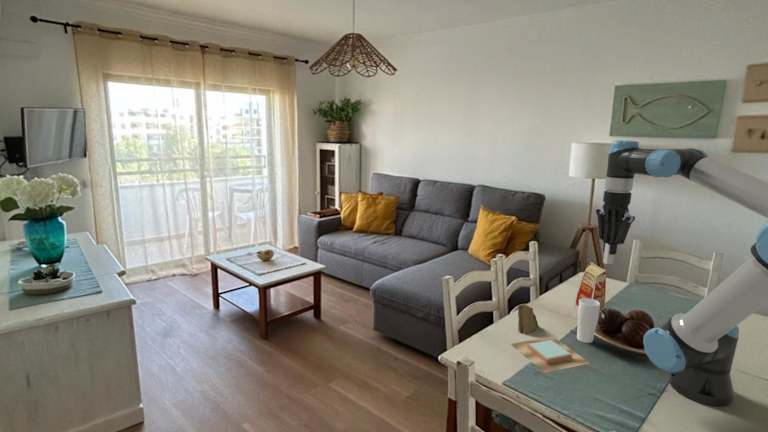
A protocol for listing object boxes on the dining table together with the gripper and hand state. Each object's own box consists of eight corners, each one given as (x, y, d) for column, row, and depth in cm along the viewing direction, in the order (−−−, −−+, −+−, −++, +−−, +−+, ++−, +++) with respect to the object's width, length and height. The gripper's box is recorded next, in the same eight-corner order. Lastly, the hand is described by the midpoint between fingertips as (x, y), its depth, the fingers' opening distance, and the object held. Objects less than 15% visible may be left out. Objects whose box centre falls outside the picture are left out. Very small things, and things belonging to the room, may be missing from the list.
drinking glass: (573, 342, 148) (578, 303, 145) (575, 334, 154) (579, 296, 151) (594, 347, 145) (600, 307, 142) (595, 338, 151) (600, 300, 148)
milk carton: (573, 305, 178) (578, 261, 174) (588, 302, 182) (594, 259, 178) (591, 314, 170) (598, 268, 166) (607, 310, 174) (613, 265, 170)
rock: (532, 314, 164) (509, 313, 162) (543, 304, 158) (520, 303, 156) (541, 340, 157) (517, 340, 155) (553, 330, 151) (529, 330, 149)
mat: (590, 364, 134) (590, 363, 134) (544, 374, 129) (544, 372, 129) (552, 337, 151) (552, 336, 151) (509, 345, 145) (510, 343, 145)
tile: (572, 354, 136) (551, 339, 146) (547, 359, 133) (527, 343, 142) (571, 358, 137) (550, 343, 146) (546, 363, 134) (527, 348, 143)
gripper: (645, 193, 124) (634, 268, 129) (610, 187, 136) (601, 255, 141) (626, 194, 122) (615, 270, 127) (592, 188, 134) (583, 257, 139)
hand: (607, 262), depth 134 cm, fingers closed
